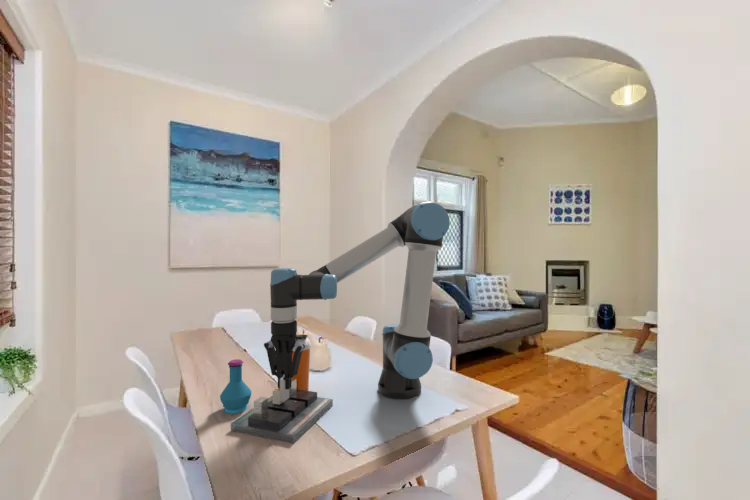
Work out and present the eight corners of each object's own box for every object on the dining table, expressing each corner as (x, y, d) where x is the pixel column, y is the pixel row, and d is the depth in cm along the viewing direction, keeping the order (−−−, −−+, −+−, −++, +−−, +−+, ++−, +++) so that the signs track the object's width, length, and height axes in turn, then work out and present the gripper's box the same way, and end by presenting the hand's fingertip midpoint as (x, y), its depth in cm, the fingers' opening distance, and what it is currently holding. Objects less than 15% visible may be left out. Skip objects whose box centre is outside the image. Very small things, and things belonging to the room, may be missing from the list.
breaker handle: (285, 400, 109) (285, 386, 109) (279, 404, 106) (279, 390, 106) (278, 399, 109) (278, 385, 109) (272, 403, 107) (272, 389, 106)
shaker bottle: (305, 398, 120) (304, 339, 119) (280, 396, 121) (279, 337, 121) (314, 388, 128) (314, 332, 128) (291, 386, 130) (291, 331, 130)
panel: (332, 405, 115) (332, 380, 114) (293, 443, 93) (293, 412, 93) (279, 397, 121) (278, 373, 121) (230, 430, 99) (230, 401, 99)
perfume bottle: (221, 418, 107) (220, 367, 106) (219, 405, 115) (218, 359, 115) (253, 411, 111) (253, 363, 111) (249, 399, 119) (248, 354, 119)
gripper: (309, 319, 108) (310, 397, 108) (272, 316, 112) (273, 391, 113) (296, 324, 101) (297, 407, 101) (257, 321, 105) (258, 401, 105)
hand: (284, 399), depth 107 cm, fingers closed
